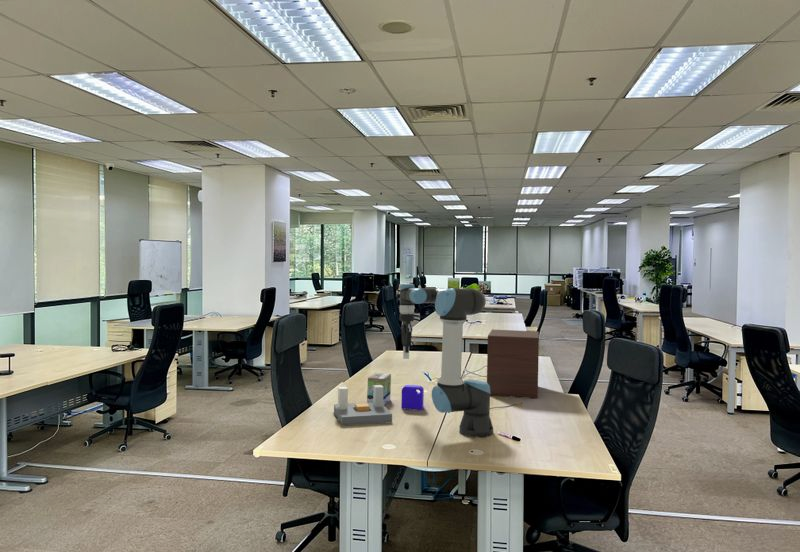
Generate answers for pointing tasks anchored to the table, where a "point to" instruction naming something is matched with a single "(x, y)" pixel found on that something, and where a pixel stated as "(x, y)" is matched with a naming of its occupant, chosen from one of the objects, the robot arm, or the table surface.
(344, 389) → the block
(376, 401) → the light grey tall block
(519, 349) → the storage cube
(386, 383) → the tea box
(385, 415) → the panel
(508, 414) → the table surface
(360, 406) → the button
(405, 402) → the bracket
